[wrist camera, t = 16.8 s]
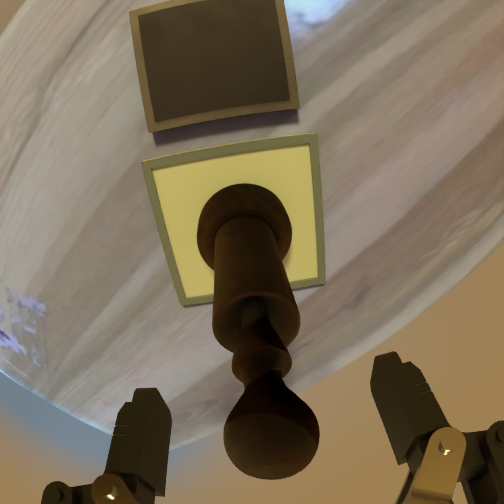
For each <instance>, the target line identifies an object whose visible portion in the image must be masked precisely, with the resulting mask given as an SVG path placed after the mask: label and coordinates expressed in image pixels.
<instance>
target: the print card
mask: <svg viewBox="0 0 504 504" xmlns="http://www.w3.org/2000/svg"><path fill="white" fill-rule="evenodd" d="M141 164H142V169H143V173H144V177H145V181H146V185H147V189H148V193H149V197H150V201H151V205H152V209H153V213H154V217H155V220H156V224H157V228H158V231H159V235H160V239H161V242H162V246H163V249H164V253H165V256H166V259H167V263H168V266H169V269H170V273H171V276H172V279H173V283H174V286H175V289H176V292H177V295H178V298H179V301H180V304H181V306H185V305H192V304H199V303H206V302H213V297H214V271H213V270H212V269H211V268H210V267H209V266H208V265H207V264H206V263H205V261H204V260H203V258H202V257H201V255H200V252H199V249H198V245H197V228H198V221H199V217H200V214H201V211H202V209H203V207H204V205H205V204H206V202H207V201H208V200H209V199H210V197H211V196H213V195H214V194H215V193H216V192H218V191H219V190H221V189H223V188H225V187H227V186H230V185H234V184H240V183H249V184H256V185H259V186H262V187H264V188H266V189H268V190H270V191H271V192H273V193H274V194H275V195H276V196H277V197H278V198H279V199H280V201H281V202H282V204H283V206H284V207H285V210H286V212H287V214H288V216H289V219H290V222H291V226H292V241H291V245H290V248H289V250H288V252H287V254H286V256H285V258H284V259H283V260H282V262H283V265H284V268H285V271H286V274H287V277H288V280H289V283H290V286H291V289H295V288H301V287H307V286H313V285H318V284H324V283H326V281H325V246H324V222H323V204H322V188H321V174H320V162H319V150H318V139H317V133H307V134H297V135H288V136H280V137H272V138H264V139H257V140H250V141H243V142H237V143H230V144H224V145H218V146H213V147H207V148H202V149H196V150H191V151H186V152H181V153H176V154H171V155H167V156H162V157H158V158H153V159H149V160H144V161H142V162H141Z"/></svg>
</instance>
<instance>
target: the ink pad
mask: <svg viewBox="0 0 504 504" xmlns="http://www.w3.org/2000/svg"><path fill="white" fill-rule="evenodd" d="M129 15H130V23H131V31H132V38H133V45H134V52H135V59H136V65H137V71H138V78H139V83H140V89H141V95H142V100H143V106H144V111H145V116H146V122H147V127H148V132H149V133H152V132H156V131H161V130H165V129H170V128H174V127H179V126H184V125H188V124H194V123H199V122H204V121H210V120H215V119H221V118H227V117H233V116H240V115H247V114H254V113H262V112H270V111H279V110H288V109H298V108H300V105H299V97H298V90H297V82H296V75H295V68H294V61H293V54H292V47H291V41H290V35H289V28H288V22H287V17H286V11H285V5H284V0H171V1H167V2H162V3H158V4H154V5H151V6H147V7H143V8H140V9H136V10H133V11H130V12H129Z"/></svg>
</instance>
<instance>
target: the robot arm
mask: <svg viewBox="0 0 504 504" xmlns="http://www.w3.org/2000/svg"><path fill="white" fill-rule="evenodd" d="M370 385H371V392H372V396H373V398H374V401H375V404H376V406H377V409H378V411H379V414H380V417H381V419H382V422H383V424H384V427H385V430H386V432H387V435H388V438H389V441H390V443H391V446H392V449H393V452H394V454H395V457H396V460H397V463H398V465H401V464H403V463H406V462H407V463H408V466H409V471H408V474H407V476H406V479H405V481H404V484H403V486H402V488H401V491H400V493H399V495H398V497H397V500H396V502H395V504H454V503H453V501H452V496H453V492H454V489H455V486H456V483H457V482H461V484H462V486H463V490H464V493H465V496H466V499H467V502H468V504H504V421H498V422H495V423H494V424H493V425H491V427H490V428H489V429H488V430H485V431H478V432H470V433H464V432H460V431H459V430H457V429H455V428H453V427H451V426H450V425H449V423H448V421H447V420H446V418H445V416H444V414H443V412H442V410H441V408H440V406H439V404H438V402H437V400H436V398H435V397H434V394H433V392H431V389H430V387H429V385H428V383H426V379H425V378H424V376H423V374H422V372H421V370H420V369H419V368H417V367H416V366H415V365H413V363H411V362H410V361H409V362H406V363H402V361H401V359H400V358H399V356H398V354H397V353H396V352H394V351H393V352H390V353H386V354H382V355H378V356H376V357H375V359H374V364H373V370H372V376H371V381H370ZM115 425H116V427H115V428H114V432H113V436H112V440H111V445H110V450H109V454H108V459H107V463H106V468H105V471H104V473H103V475H101V476H99V477H97V478H96V479H95V480H94V482H93V483H92V484H88V485H82V486H75V487H69V486H68V485H66V484H65V483H63V482H60V481H55V482H52V483H50V484H49V485H47V486H46V488H45V490H44V492H43V496H42V501H41V504H154V502H155V496H164V497H165V486H166V474H167V464H168V453H169V444H170V435H171V426H172V418H171V413H170V410H169V408H168V407H167V405H166V403H165V402H164V400H163V398H162V396H161V395H160V393H159V391H158V390H157V388H137V389H136V390H135V391H134V395H133V399H132V402H125V404H124V405H123V406H122V408H121V409H120V411H119V412H118V415H117V419H116V423H115Z"/></svg>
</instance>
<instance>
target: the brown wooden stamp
mask: <svg viewBox="0 0 504 504" xmlns="http://www.w3.org/2000/svg"><path fill="white" fill-rule="evenodd" d="M291 241H292V226H291V222H290V219H289V216H288V214H287V212H286V210H285V207H284V206H283V204H282V202H281V201H280V199H279V198H278V197H277V196H276V195H275V194H274V193H273V192H271V191H270V190H268V189H266V188H264V187H262V186H259V185H256V184H249V183H240V184H234V185H230V186H227V187H225V188H223V189H221V190H219V191H218V192H216V193H215V194H214V195H213V196H211V197H210V199H209V200H208V201H207V202H206V204H205V205H204V207H203V209H202V211H201V214H200V217H199V221H198V228H197V245H198V249H199V252H200V255H201V257H202V258H203V260H204V261H205V263H206V264H207V265H208V266H209V267H210V268H211V269H212V270H213V271H214V297H213V318H212V328H213V333H214V336H215V338H216V339H217V341H218V342H219V343H220V344H221V345H222V346H223V347H224V348H226V349H227V350H229V351H231V352H233V353H234V354H233V360H232V372H233V374H234V375H235V377H236V378H237V379H238V380H240V381H241V382H243V383H244V387H245V390H244V393H243V394H242V396H241V397H240V399H239V400H238V402H237V403H236V405H235V406H234V408H233V409H232V411H231V413H230V414H229V416H228V418H227V420H226V423H225V426H224V445H225V449H226V452H227V454H228V457H229V458H230V460H231V461H232V463H233V464H234V465H235V466H236V467H237V468H238V469H239V470H240V471H242V472H243V473H245V474H247V475H249V476H252V477H256V478H260V479H268V480H275V479H283V478H287V477H291V476H293V475H295V474H296V473H298V472H300V471H302V470H303V469H304V468H305V467H306V466H307V465H308V464H309V463H310V462H311V460H312V459H313V457H314V456H315V453H316V451H317V448H318V443H319V436H320V433H319V425H318V421H317V419H316V416H315V414H314V413H313V411H312V410H311V409H310V408H309V406H308V405H307V404H306V403H305V402H304V401H303V400H301V399H300V398H299V397H298V396H297V395H296V394H295V393H294V392H292V391H291V390H290V389H289V388H288V387H286V385H285V383H284V381H283V379H282V378H283V377H285V376H286V375H287V374H288V372H289V371H290V369H291V366H292V360H291V356H290V354H289V352H288V350H287V348H286V347H287V346H288V345H289V344H290V343H291V342H292V341H293V340H294V339H295V337H296V336H297V334H298V331H299V328H300V314H299V311H298V308H297V305H296V302H295V299H294V295H293V293H292V289H291V286H290V283H289V280H288V277H287V274H286V271H285V268H284V265H283V262H282V260H283V259H284V258H285V256H286V254H287V252H288V250H289V248H290V245H291Z"/></svg>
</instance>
